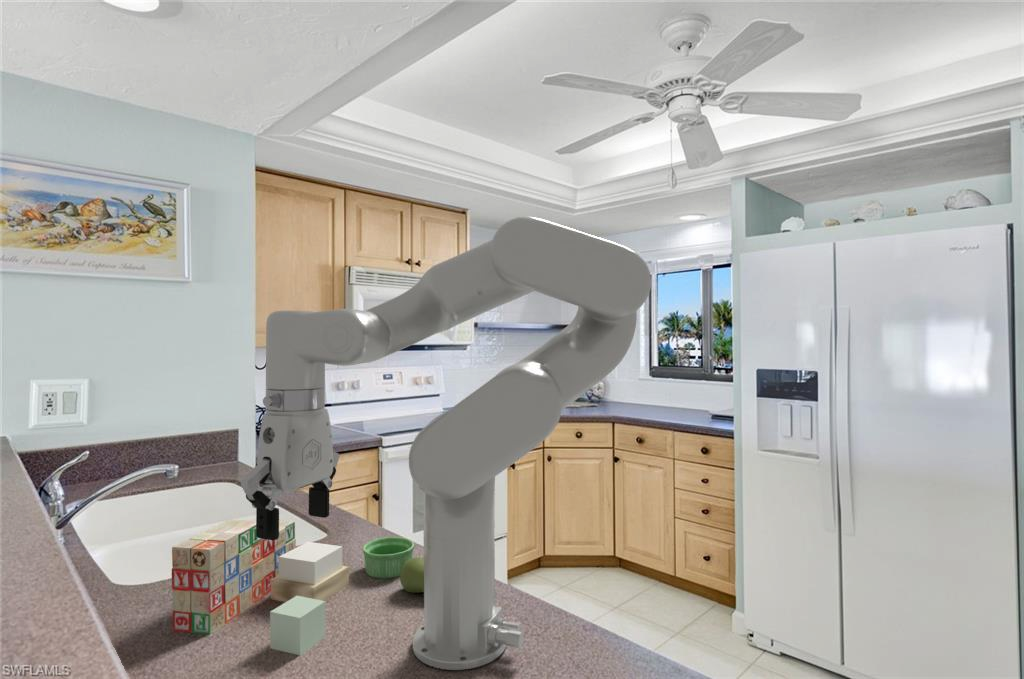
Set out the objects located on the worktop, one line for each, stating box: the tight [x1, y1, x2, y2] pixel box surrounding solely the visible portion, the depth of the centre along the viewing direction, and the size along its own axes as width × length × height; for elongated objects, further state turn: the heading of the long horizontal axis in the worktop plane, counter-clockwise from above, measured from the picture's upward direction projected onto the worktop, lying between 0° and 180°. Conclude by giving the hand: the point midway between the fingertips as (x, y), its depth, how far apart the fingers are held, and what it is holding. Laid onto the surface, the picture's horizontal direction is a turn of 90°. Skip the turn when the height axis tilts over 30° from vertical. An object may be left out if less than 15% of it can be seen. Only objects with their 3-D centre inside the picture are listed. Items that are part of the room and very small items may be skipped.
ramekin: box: [362, 536, 415, 579], centre depth 101 cm, size 9×9×4 cm
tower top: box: [278, 541, 344, 585], centre depth 92 cm, size 7×7×4 cm
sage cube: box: [269, 596, 327, 656], centre depth 77 cm, size 5×5×5 cm
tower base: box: [270, 565, 350, 603], centre depth 92 cm, size 8×8×4 cm
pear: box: [399, 556, 424, 594], centre depth 91 cm, size 6×5×10 cm
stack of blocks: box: [171, 518, 297, 635], centre depth 90 cm, size 21×6×12 cm, turn 169°
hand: (294, 526), depth 77 cm, fingers open, 9 cm apart
